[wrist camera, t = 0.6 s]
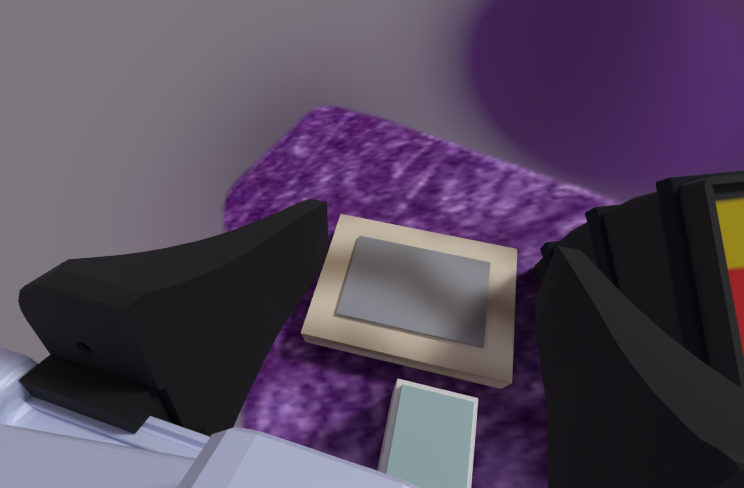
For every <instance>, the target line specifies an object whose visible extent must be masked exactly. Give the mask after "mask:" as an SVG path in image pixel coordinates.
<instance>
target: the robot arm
mask: <svg viewBox="0 0 744 488" xmlns="http://www.w3.org/2000/svg"><path fill="white" fill-rule="evenodd" d="M327 254H328V220H327V202H324V201H319V200H313V199H308V200H305V201H303V202H300V203H298V204H295V205H293V206H291V207H288V208H286V209H284V210H282V211H279V212H277V213H275V214H272V215H270V216H268V217H265V218H263V219H261V220H258V221H256V222H253V223H251V224H248V225H245V226H243V227H240V228H238V229H235V230H232V231H229V232H226V233H223V234H220V235H217V236H214V237H210V238H207V239H203V240H200V241H196V242H191V243H187V244H182V245H178V246H173V247H169V248H164V249H158V250H152V251H146V252H139V253H132V254H125V255H116V256H105V257H93V258H81V259H69V260H67V261H65V262H63V263H61V264H60V265H58V266H57V267H55V268H53V269H52V270H51V271H48V272H47V273H45V274H43V275H42V276H40V277H38V278H37V279H35V280H34V281H32V282H30V283H29V284H27V285H25V286H24V287H23V288H22V289H21V290H20V293H19V300H18V302H19V305H20V309H21V311H22V313H23V315H24V316H25V318H26V320H27V321H28V323H29V324H30V326H31V327H32V328H33V330H34V331H35V333H36V334H37V336H38V337H39V339H40V340H41V341H42V343H43V344H44V346H45V347H46V349H47V350H48V351H49V353H50V354H51V355H49V356H48V357H47V358H46V359H44V360H43V361H42V362H41V363H40V364H38V363H37V362H35V361H34V360H32V359H31V358H29V357H27V356H25V355H22V354H19V353H16V352H13V351H11V350H8V349H4V348H2V347H0V488H420V487H418V486H416V485H414V484H412V483H410V482H407V481H405V480H403V479H400V478H397V477H394V476H391V475H388V474H385V473H382V472H379V471H376V470H373V469H371V468H368V467H365V466H362V465H359V464H356V463H353V462H350V461H347V460H344V459H341V458H338V457H335V456H332V455H329V454H326V453H323V452H320V451H317V450H314V449H311V448H308V447H305V446H302V445H299V444H296V443H293V442H290V441H287V440H284V439H281V438H278V437H275V436H272V435H269V434H266V433H263V432H260V431H255V430H249V429H244V428H238V427H234V424H235V422H236V420H237V417H238V415H239V413H240V411H241V408H242V406H243V404H244V402H245V400H246V397H247V395H248V393H249V391H250V389H251V387H252V384H253V382H254V380H255V378H256V376H257V374H258V372H259V370H260V368H261V366H262V364H263V362H264V360H265V358H266V356H267V354H268V352H269V351H270V349H271V347H272V345H273V343H274V341H275V339H276V337H277V335H278V334H279V332H280V330H281V329H282V327H283V325H284V324H285V322H286V321H287V319H288V318H289V316H290V315H291V313H292V312H293V310H294V309H295V308H296V306H297V305H298V303H299V302H300V300H301V299H302V297H303V296H304V294H305V293H306V291H307V290H308V288H309V287H310V285H311V284H312V282H313V281H314V279H315V278H316V276H317V275H318V273H319V271H320V269H321V267H322V264H323V262H324V260H325V258H326V256H327ZM535 327H536V334H537V341H538V348H539V355H540V362H541V368H542V375H543V382H544V388H545V396H546V406H547V432H548V488H744V390H743V389H742V388H740V387H739V386H737V385H736V384H734V383H733V382H731V381H730V380H729V379H727V378H726V377H724V376H723V375H721V374H720V373H718V372H717V371H715V370H714V369H712V368H711V367H710V366H708V365H707V364H705V363H704V362H703V361H701V360H700V359H698V358H697V357H696V356H694V355H693V354H692V353H690V352H689V351H688V350H687V349H685V348H684V347H683V346H681V345H680V344H679V343H678V342H676V341H675V340H674V339H673V338H671V337H670V336H669V335H667V334H666V333H665V332H664V331H663V330H662V329H660V328H659V327H658V326H657V325H656V324H654V323H653V322H652V321H651V320H650V319H649V318H648V317H647V316H646V315H645V314H643V313H642V312H641V311H640V310H639V309H638V308H637V307H636V306H635V305H634V304H633V303H632V302H631V301H630V300H629V299H627V298H626V297H625V296H624V295H623V294H622V293H621V292H620V291H619V290H618V288H617V287H616V286H615V285H614V284H613V283H612V282H611V281H610V280H609V279H608V278H607V277H606V276H605V275H604V274H603V273H602V272H601V271H600V270H599V269H598V268H597V267H596V266H595V264H594V263H593V262H592V261H591V260H590V259H589V258H588V257H587V256H586V255H585V254H584V253H583V252H581V251H580V250H578V249H572V248H567V247H562V246H557V247H556V250H555V252H554V254H553V257H552V259H551V262H550V264H549V266H548V269H547V271H546V274H545V276H544V278H543V281H542V283H541V286H540V288H539V290H538V293H537V295H536V303H535ZM233 427H234V428H233Z"/></svg>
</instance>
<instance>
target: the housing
mask: <svg viewBox="0 0 744 488" xmlns="http://www.w3.org/2000/svg"><path fill="white" fill-rule="evenodd" d="M477 408H478V398H475V397H471V396H467V395H463V394H459V393H455V392H451V391H447V390H442V389H438V388H434V387H430V386H426V385H422V384H418V383H414V382H410V381H406V380H402V379H397V382H396V384H395V387H394V390H393V393H392V397H391V402H390V407H389V412H388V417H387V423H386V428H385V433H384V438H383V443H382V448H381V454H380V459H379V464H378V469H377V471H379V472H382V473H385V474H388V475H391V476H394V477H397V478H400V479H403V480H405V481H407V482H410V483H412V484H414V485H416V486H418V487H420V488H471V483H472V470H473V458H474V446H475V433H476V421H477Z"/></svg>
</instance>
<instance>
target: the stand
mask: <svg viewBox="0 0 744 488" xmlns="http://www.w3.org/2000/svg"><path fill="white" fill-rule="evenodd" d="M516 267H517V249H514V248H509V247H504V246H499V245H494V244H489V243H484V242H479V241H473V240H468V239H463V238H458V237H453V236H448V235H443V234H438V233H433V232H428V231H423V230H418V229H413V228H408V227H403V226H398V225H393V224H388V223H383V222H378V221H373V220H368V219H363V218H358V217H353V216H348V215H343V214H341V215H340V218H339V221H338V224H337V227H336V230H335V233H334V236H333V239H332V242H331V245H330V248H329V251H328V254H327V257H326V260H325V263H324V265H323V268H322V271H321V274H320V277H319V280H318V283H317V286H316V289H315V292H314V295H313V298H312V301H311V304H310V307H309V310H308V313H307V316H306V319H305V322H304V325H303V328H302V331H301V334H302V336H303V338H304V340H305V342H308V343H312V344H316V345H320V346H324V347H329V348H333V349H337V350H341V351H345V352H349V353H353V354H358V355H362V356H366V357H370V358H374V359H378V360H383V361H387V362H391V363H395V364H399V365H403V366H408V367H412V368H416V369H420V370H424V371H428V372H433V373H437V374H441V375H445V376H449V377H453V378H457V379H462V380H466V381H470V382H474V383H478V384H482V385H487V386H491V387H495V388H499V389H502V388H504V387H506V386H508V385H510V384H512V374H513V348H514V321H515V294H516Z"/></svg>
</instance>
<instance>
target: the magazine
mask: <svg viewBox="0 0 744 488" xmlns="http://www.w3.org/2000/svg"><path fill="white" fill-rule="evenodd" d="M656 188H657V191H656V192H652V193H649V194H646V195H642V196H638V197H635V198H633V199H631V200H629V201H627V202H625V203H623V204H621V205H612V206H602V207H595V208H593V209H591V210H589V211H587V212H586V213H585V215H586V219H587V223H585V224H583V225H582V226H580V227H578V228H576V229H575V230H573V231H571V232H570V233H569V234H568V235H566V236H565V237H564V238H563V239H562V240H561V241H555V242H546V243H545V244H544V245H543V246H542V247H541V248H540V250H541V253H542V256H543V258H542V259H541V260H540V261H539V262H538V263H537V264H536V265H535V272H536V274H537V277H538V279H539V282H540V285H541V283H542V281H543V278H544V276H545V274H546V271H547V269H548V266H549V264H550V262H551V259H552V257H553V254H554V252H555V250H556V247H557V246H562V247H567V248H572V249H578V250H580V251H581V252H583V253H584V254H585V255H586V256H587V257H588V258H589V259H590V260H591V261H592V262H593V263H594V264H595V266H596V267H597V268H598V269H599V270H600V271H601V272H602V273H603V274H604V275H605V276H606V277H607V278H608V279H609V280H610V281H611V282H612V283H613V284H614V285H615V286H616V287H617V288H618V290H619V291H620V292H621V293H622V294H623V295H624V296H625V297H626V298H627V299H629V300H630V301H631V302H632V303H633V304H634V305H635V306H636V307H637V308H638V309H639V310H640V311H641V312H642V313H643V314H645V315H646V316H647V317H648V318H649V319H650V320H651V321H652V322H653V323H654V324H656V325H657V326H658V327H659V328H660V329H662V330H663V331H664V332H665V333H666V334H667V335H669V336H670V337H671V338H673V339H674V340H675V341H676V342H678V343H679V344H680V345H681V346H683V347H684V348H685V349H687V350H688V351H689V352H690V353H692V354H693V355H694V356H696V357H697V358H698V359H700V360H701V361H703V362H704V363H705V364H707V365H708V366H710V367H711V368H712V369H714V370H715V371H717V372H718V373H720V374H721V375H723V376H724V377H726V378H727V379H729V380H730V381H731V382H733V383H734V384H736V385H737V386H739V387H740V388H742V389H743V390H744V171H737V172H725V173H714V174H704V175H693V176H683V177H671V178H667V179H664V180H660V181H658V182H656Z"/></svg>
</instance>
